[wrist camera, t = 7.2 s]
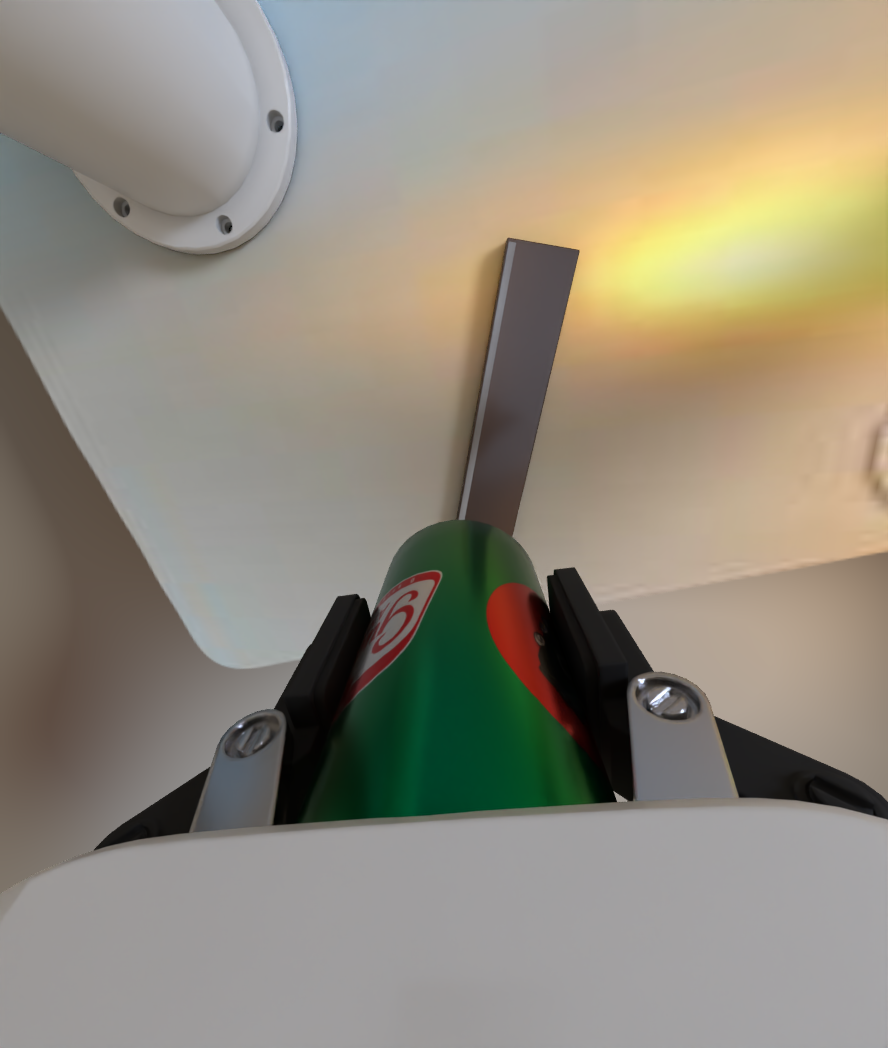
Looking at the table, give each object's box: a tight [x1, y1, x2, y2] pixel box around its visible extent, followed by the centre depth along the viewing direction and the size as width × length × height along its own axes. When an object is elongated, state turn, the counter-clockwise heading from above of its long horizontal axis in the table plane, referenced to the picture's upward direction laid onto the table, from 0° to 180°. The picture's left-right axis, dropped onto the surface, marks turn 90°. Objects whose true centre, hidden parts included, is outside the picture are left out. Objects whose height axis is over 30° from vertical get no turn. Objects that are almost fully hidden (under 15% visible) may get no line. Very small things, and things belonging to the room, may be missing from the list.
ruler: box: [457, 238, 579, 537], centre depth 26 cm, size 4×20×1 cm, turn 171°
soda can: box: [295, 520, 617, 824], centre depth 9 cm, size 5×5×12 cm
